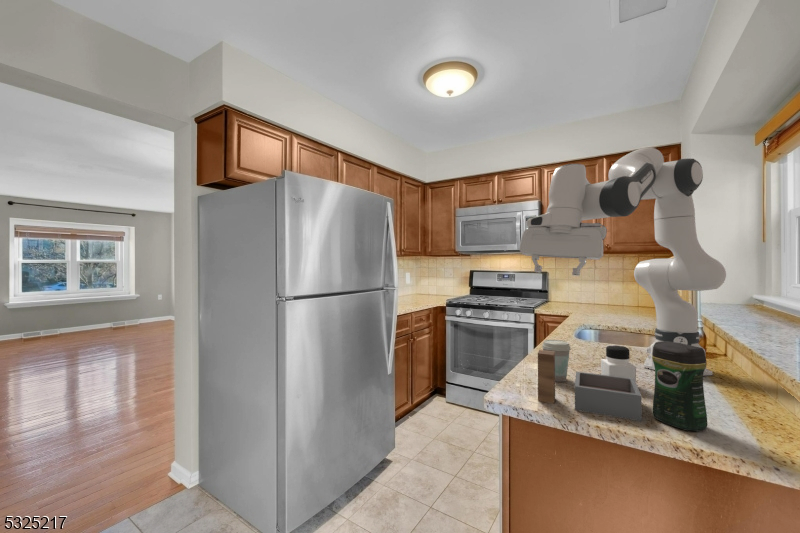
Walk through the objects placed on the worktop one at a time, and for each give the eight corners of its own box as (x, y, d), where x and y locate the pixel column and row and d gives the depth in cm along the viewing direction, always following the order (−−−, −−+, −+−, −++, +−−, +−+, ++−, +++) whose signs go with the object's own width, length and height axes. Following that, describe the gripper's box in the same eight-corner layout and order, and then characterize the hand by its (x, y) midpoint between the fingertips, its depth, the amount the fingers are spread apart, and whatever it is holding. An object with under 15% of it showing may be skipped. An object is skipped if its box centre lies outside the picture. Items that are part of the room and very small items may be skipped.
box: (576, 392, 100) (576, 371, 100) (634, 400, 93) (634, 378, 93) (574, 409, 88) (574, 386, 88) (641, 421, 81) (641, 395, 81)
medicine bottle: (636, 390, 101) (636, 349, 101) (609, 388, 103) (609, 348, 103) (625, 382, 108) (625, 344, 108) (600, 381, 110) (600, 343, 110)
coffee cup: (543, 381, 109) (542, 343, 109) (541, 373, 117) (541, 338, 117) (572, 384, 106) (572, 345, 106) (569, 376, 114) (568, 340, 114)
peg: (539, 395, 97) (539, 349, 97) (555, 398, 95) (554, 351, 95) (537, 400, 94) (537, 353, 94) (554, 403, 92) (553, 354, 92)
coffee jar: (714, 429, 77) (714, 346, 77) (690, 435, 74) (689, 349, 74) (668, 412, 86) (668, 337, 86) (645, 416, 84) (645, 340, 84)
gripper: (609, 226, 88) (603, 279, 87) (528, 225, 101) (521, 272, 100) (606, 219, 83) (599, 275, 82) (521, 219, 96) (514, 268, 95)
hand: (556, 273), depth 91 cm, fingers open, 8 cm apart
